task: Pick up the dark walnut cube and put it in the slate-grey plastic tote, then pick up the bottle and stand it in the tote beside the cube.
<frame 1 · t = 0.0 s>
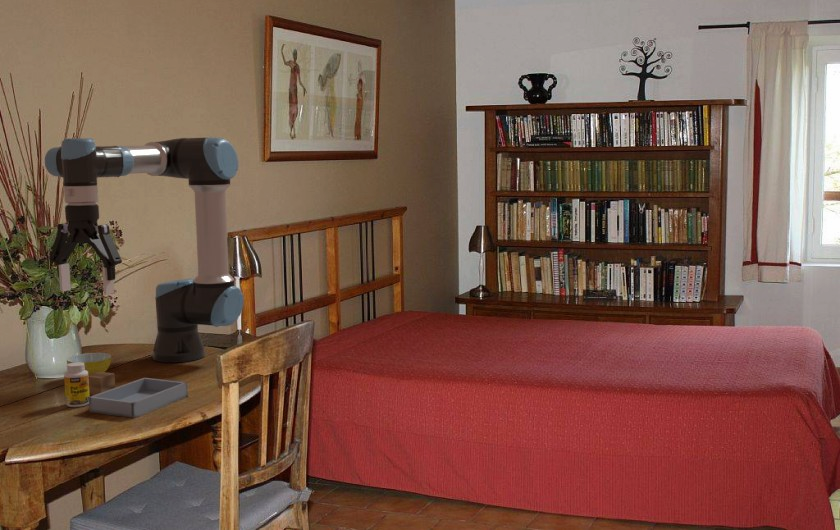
hand: (87, 292, 220), 28 cm above the table, fingers open, 13 cm apart
walnut cube: (101, 393, 235), on the table
supplement bottle: (78, 405, 225), on the table
tote: (140, 404, 225), on the table
bowl: (90, 380, 249), on the table
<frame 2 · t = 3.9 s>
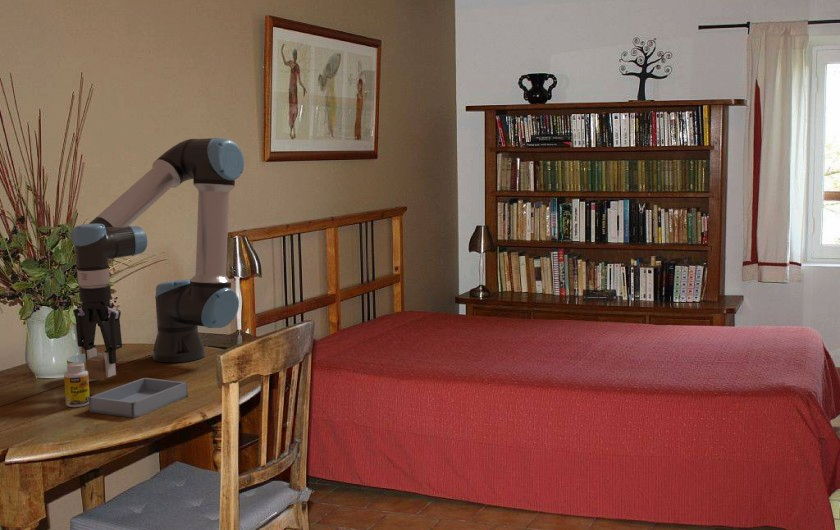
hand: (102, 374, 235), 5 cm above the table, fingers closed on walnut cube, 5 cm apart
walnut cube: (101, 376, 234), point 4 cm above the table, touching gripper
everything else where it was.
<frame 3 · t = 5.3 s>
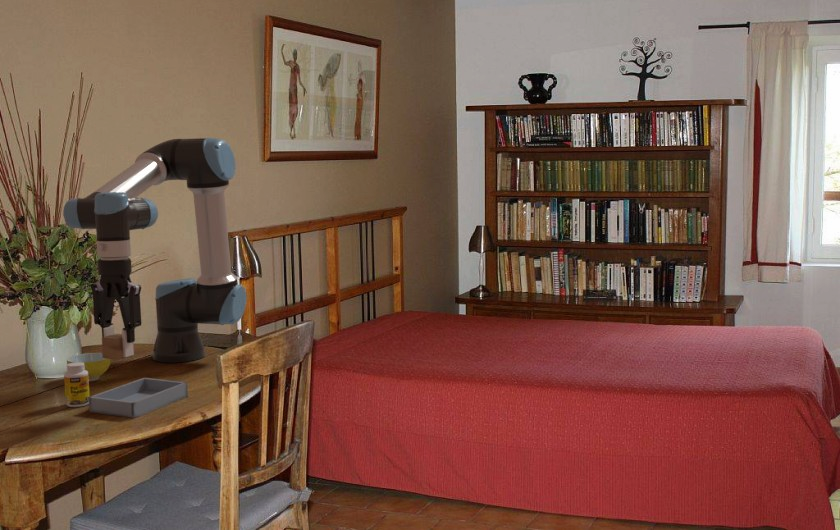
hand: (119, 354, 219), 13 cm above the table, fingers closed on walnut cube, 5 cm apart
walnut cube: (118, 356, 219), point 13 cm above the table, touching gripper
everything else where it was.
when the fingers open (4 cm above the table, at t = 6.7 s): walnut cube drops 3 cm, resting on tote.
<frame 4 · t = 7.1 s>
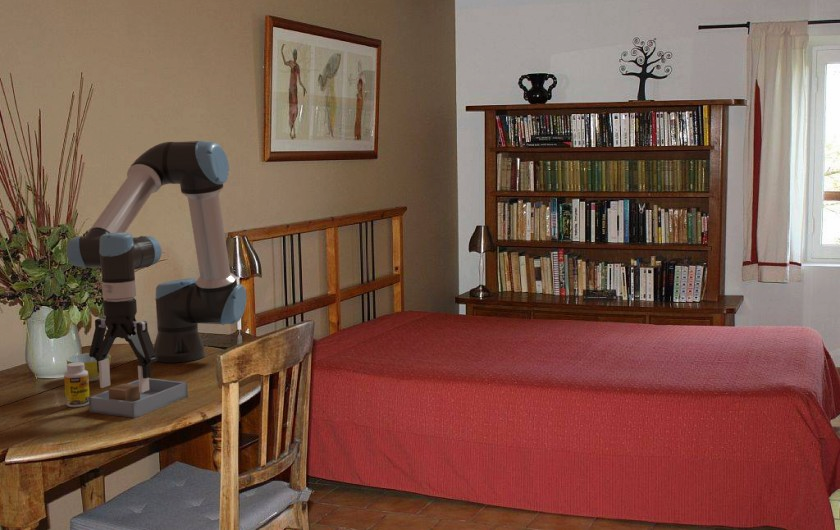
hand: (124, 388, 219), 5 cm above the table, fingers open, 11 cm apart
walnut cube: (125, 407, 220), point 1 cm above the table, touching tote
everything else where it was.
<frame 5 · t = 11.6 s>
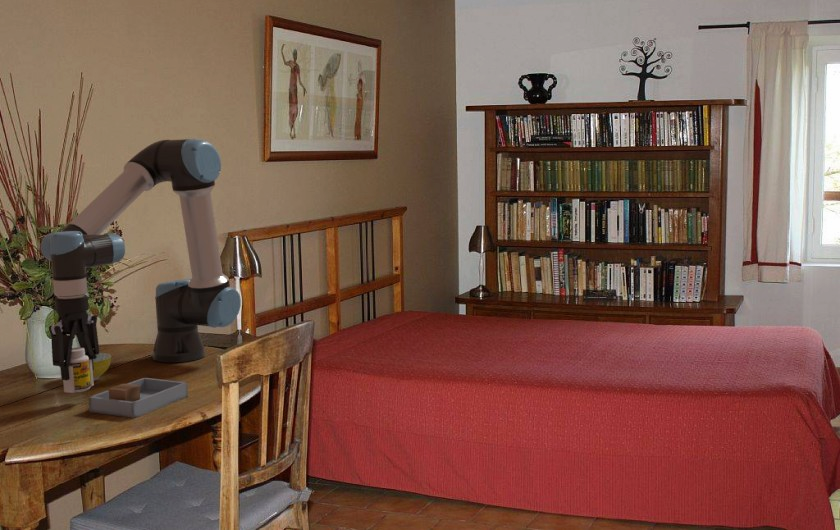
hand: (79, 388, 225), 4 cm above the table, fingers closed on supplement bottle, 6 cm apart
supplement bottle: (79, 390, 225), point 3 cm above the table, touching gripper
everything else where it was.
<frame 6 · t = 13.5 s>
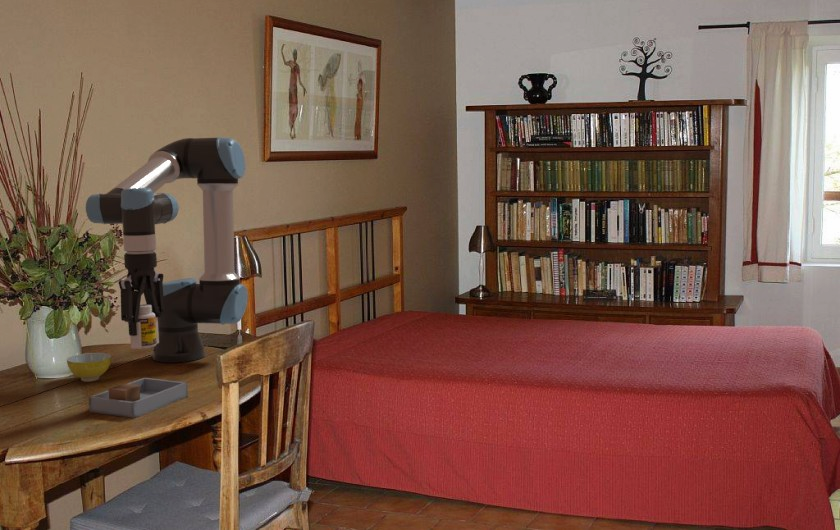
hand: (145, 345, 225), 14 cm above the table, fingers closed on supplement bottle, 6 cm apart
supplement bottle: (145, 347, 225), point 14 cm above the table, touching gripper
everything else where it was.
when the fingers open (4 cm above the table, at t = 15.6 s): supplement bottle drops 3 cm, resting on tote.
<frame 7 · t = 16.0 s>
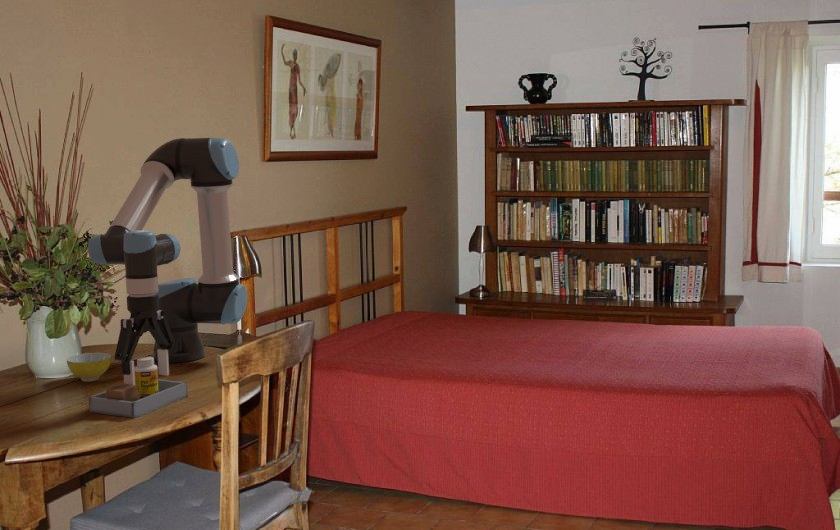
hand: (147, 380, 227), 5 cm above the table, fingers open, 12 cm apart
walnut cube: (123, 407, 219), point 1 cm above the table, touching gripper
supplement bottle: (147, 399, 227), resting on tote
everything else where it was.
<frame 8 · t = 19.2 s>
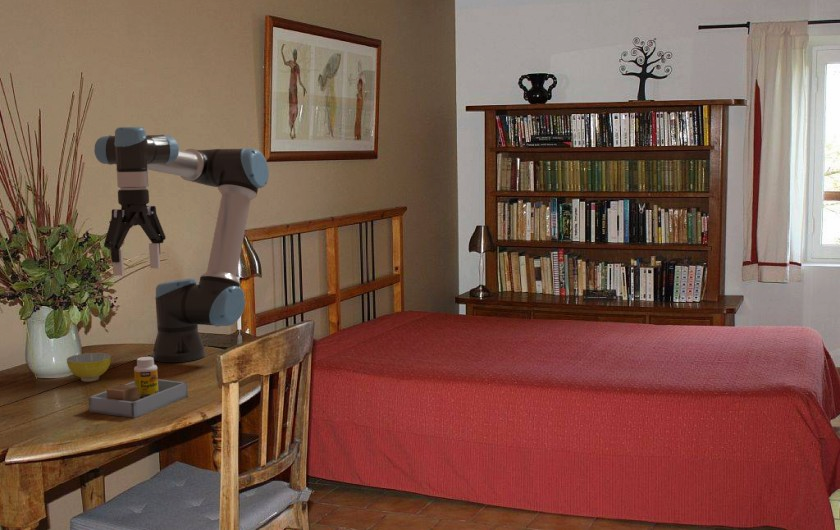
hand: (137, 271, 235), 31 cm above the table, fingers open, 13 cm apart
walnut cube: (123, 408, 219), point 1 cm above the table, touching tote
everything else where it was.
at the end: supplement bottle inside the target area on the tote (2.7 cm from its centre), point 0.4 cm above the tote's base; supplement bottle tilted 0°; walnut cube inside the target area on the tote (5.9 cm from its centre), point 0.6 cm above the tote's base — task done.
